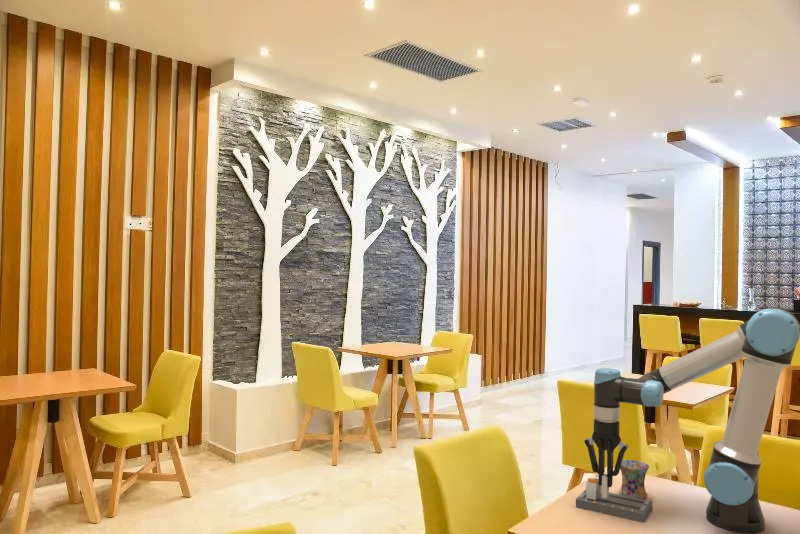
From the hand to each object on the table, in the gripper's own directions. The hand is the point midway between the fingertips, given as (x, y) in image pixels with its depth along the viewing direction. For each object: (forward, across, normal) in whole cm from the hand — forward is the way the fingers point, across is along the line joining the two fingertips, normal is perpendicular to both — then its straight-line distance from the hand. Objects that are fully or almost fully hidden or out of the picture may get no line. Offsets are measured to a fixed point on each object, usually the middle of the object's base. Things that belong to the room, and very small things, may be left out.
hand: (605, 496), depth 187 cm
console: (+4, -2, -2) cm, 5 cm away
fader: (+1, +4, 0) cm, 4 cm away
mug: (+4, -4, -18) cm, 18 cm away
